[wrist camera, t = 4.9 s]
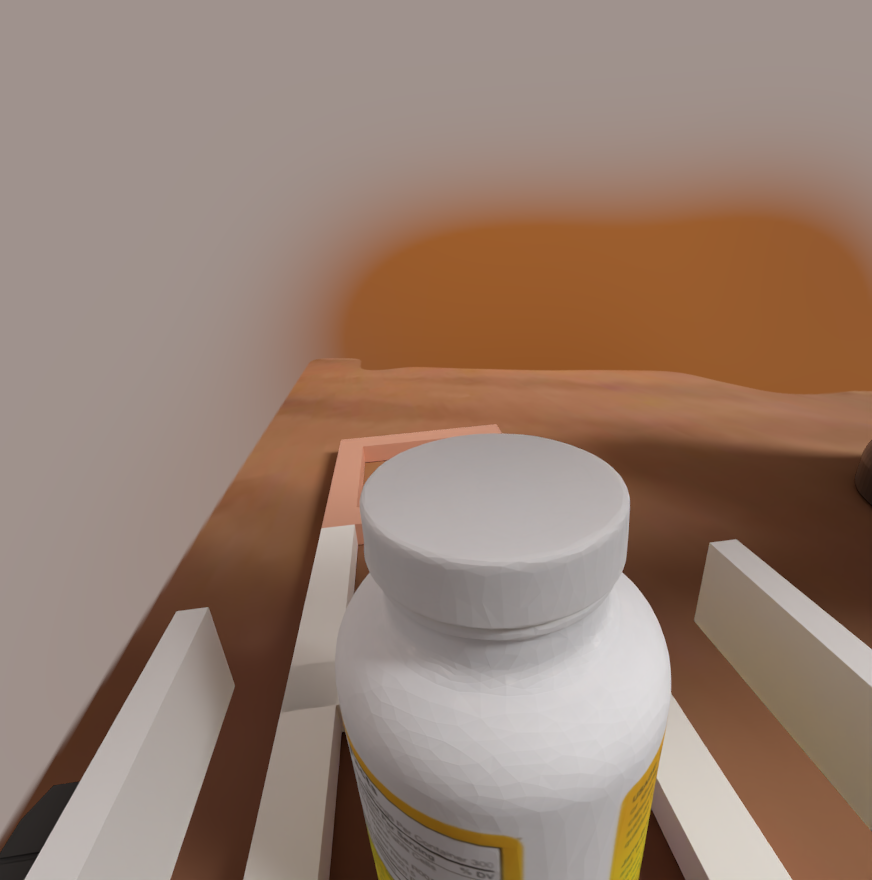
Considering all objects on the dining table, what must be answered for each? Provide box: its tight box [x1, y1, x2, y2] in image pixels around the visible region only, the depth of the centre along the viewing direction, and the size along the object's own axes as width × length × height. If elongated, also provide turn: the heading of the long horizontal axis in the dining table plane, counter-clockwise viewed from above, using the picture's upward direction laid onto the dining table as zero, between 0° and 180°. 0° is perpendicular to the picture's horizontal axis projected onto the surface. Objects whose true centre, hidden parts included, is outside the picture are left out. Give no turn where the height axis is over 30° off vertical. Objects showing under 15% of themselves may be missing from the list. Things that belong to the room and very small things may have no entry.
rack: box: [243, 424, 792, 880], centre depth 24 cm, size 38×14×2 cm, turn 6°
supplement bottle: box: [335, 433, 671, 880], centre depth 11 cm, size 7×7×13 cm
